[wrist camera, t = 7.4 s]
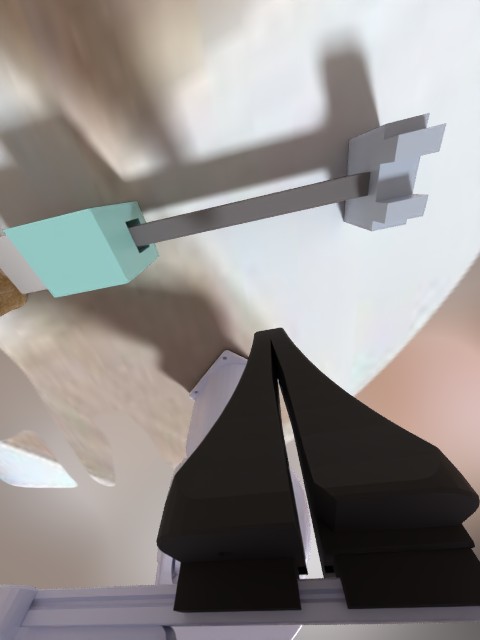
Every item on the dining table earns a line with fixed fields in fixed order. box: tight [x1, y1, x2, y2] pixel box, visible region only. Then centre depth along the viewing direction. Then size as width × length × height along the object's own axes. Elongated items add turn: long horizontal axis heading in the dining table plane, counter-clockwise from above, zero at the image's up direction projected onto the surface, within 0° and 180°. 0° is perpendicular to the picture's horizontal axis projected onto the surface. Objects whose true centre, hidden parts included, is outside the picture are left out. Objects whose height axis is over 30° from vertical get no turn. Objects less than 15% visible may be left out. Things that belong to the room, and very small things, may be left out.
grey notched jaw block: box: [344, 113, 446, 231], centre depth 13 cm, size 2×5×5 cm, turn 11°
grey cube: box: [0, 235, 47, 294], centre depth 15 cm, size 4×4×4 cm
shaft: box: [128, 172, 371, 247], centre depth 14 cm, size 23×1×1 cm, turn 101°
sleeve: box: [3, 201, 159, 298], centre depth 14 cm, size 5×4×6 cm
